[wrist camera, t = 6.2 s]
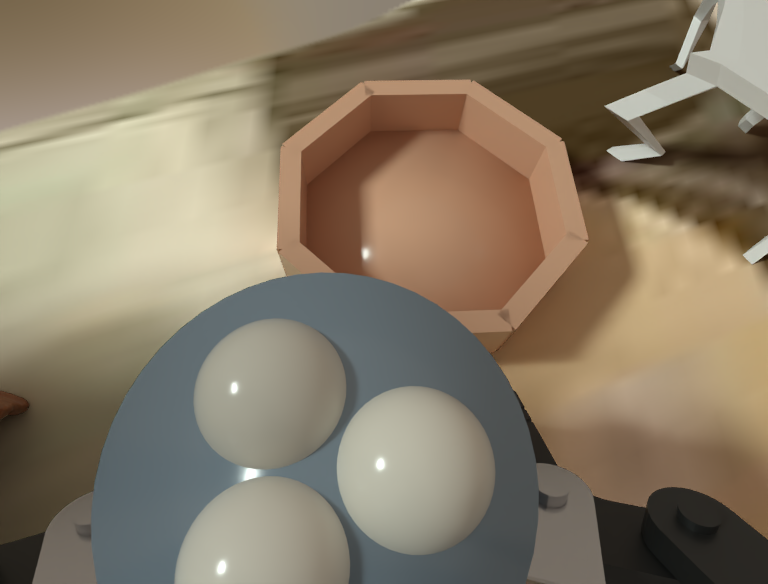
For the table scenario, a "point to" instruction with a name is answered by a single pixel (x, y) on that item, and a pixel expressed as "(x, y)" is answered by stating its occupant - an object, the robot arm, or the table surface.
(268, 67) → the table surface
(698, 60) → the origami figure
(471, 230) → the terracotta bowl
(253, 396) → the pebble cup
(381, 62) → the table surface
